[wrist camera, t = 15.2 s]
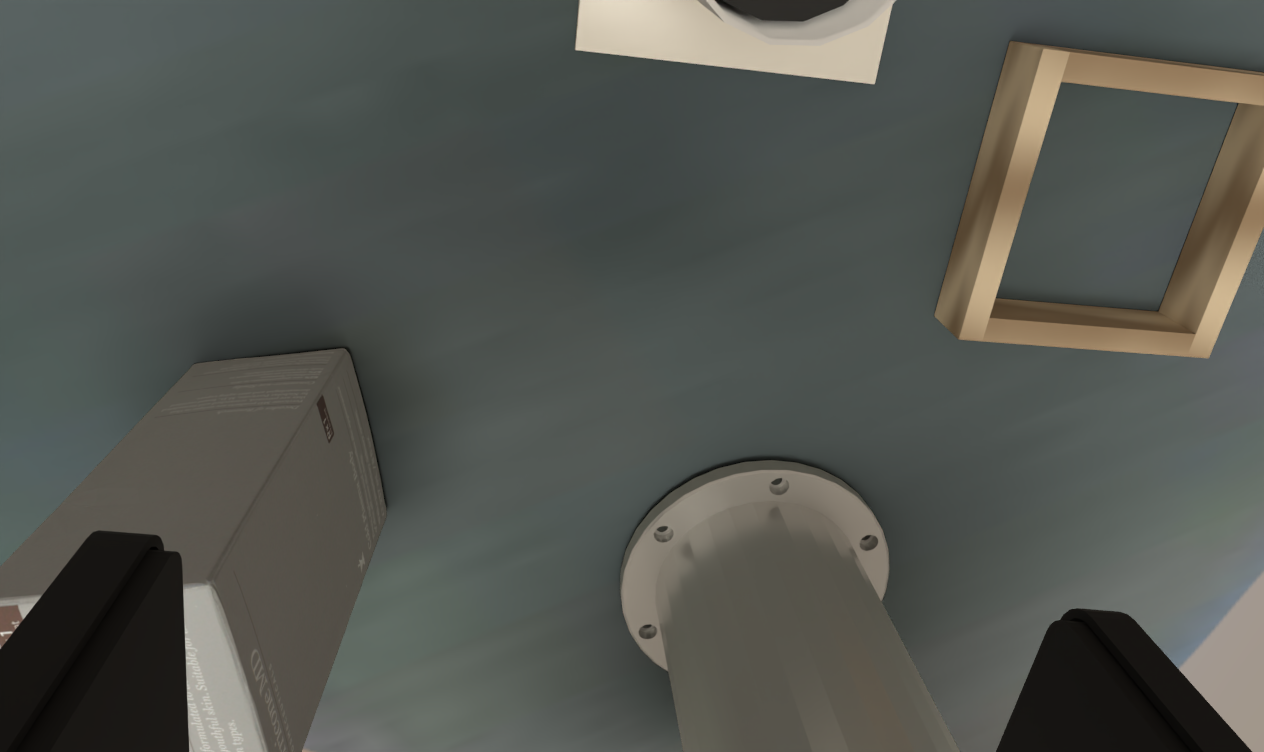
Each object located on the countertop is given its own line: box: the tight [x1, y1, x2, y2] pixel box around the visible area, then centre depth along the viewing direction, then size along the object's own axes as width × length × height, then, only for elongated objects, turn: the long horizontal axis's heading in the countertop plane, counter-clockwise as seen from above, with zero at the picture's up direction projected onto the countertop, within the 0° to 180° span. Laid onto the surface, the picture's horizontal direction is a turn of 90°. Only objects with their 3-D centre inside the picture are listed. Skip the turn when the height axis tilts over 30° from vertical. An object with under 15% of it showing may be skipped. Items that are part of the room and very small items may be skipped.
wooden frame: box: [934, 41, 1264, 358], centre depth 36 cm, size 11×11×2 cm
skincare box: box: [0, 348, 387, 752], centre depth 31 cm, size 8×7×16 cm
